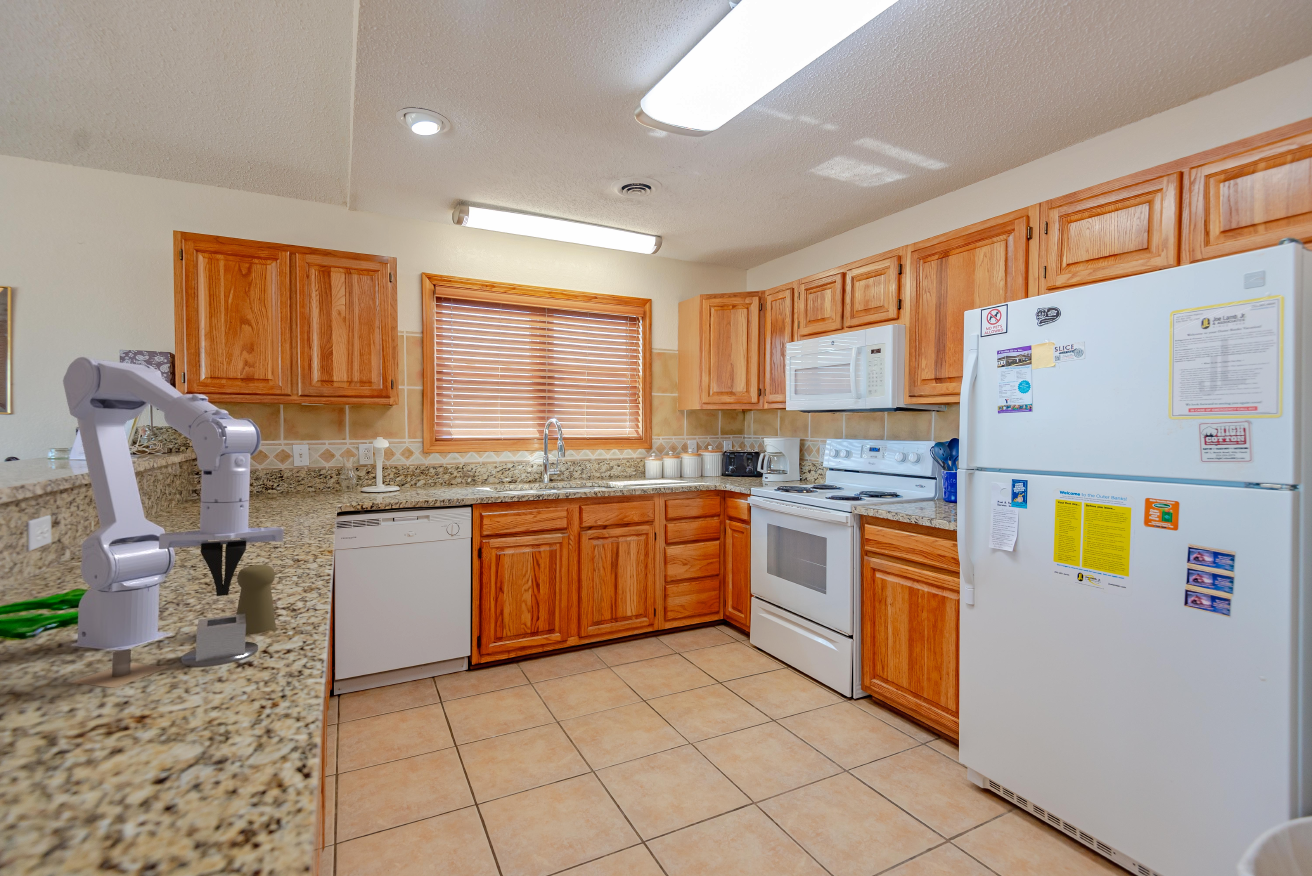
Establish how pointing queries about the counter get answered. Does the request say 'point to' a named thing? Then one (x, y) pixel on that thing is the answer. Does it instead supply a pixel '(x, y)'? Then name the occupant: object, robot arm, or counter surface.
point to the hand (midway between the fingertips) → (222, 594)
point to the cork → (256, 598)
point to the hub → (190, 659)
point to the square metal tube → (220, 637)
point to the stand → (120, 671)
